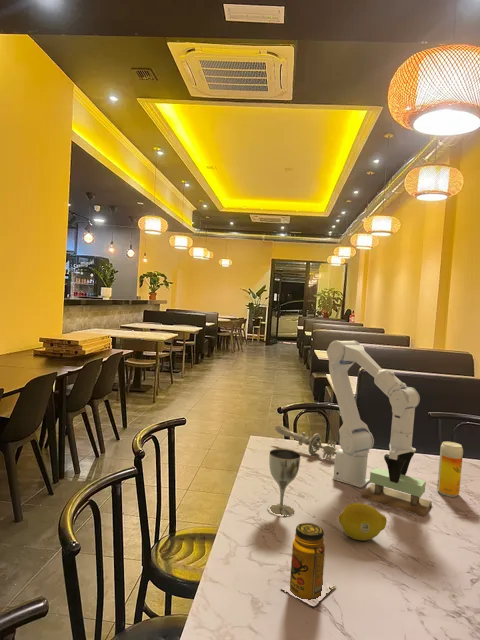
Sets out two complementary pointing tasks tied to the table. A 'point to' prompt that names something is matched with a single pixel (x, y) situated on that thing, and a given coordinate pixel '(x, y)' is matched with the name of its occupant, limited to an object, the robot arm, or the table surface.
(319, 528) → the condiment
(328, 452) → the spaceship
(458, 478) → the beer can
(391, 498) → the peg base
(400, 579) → the table surface
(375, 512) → the lemon
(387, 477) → the shelf board
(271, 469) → the wine glass
